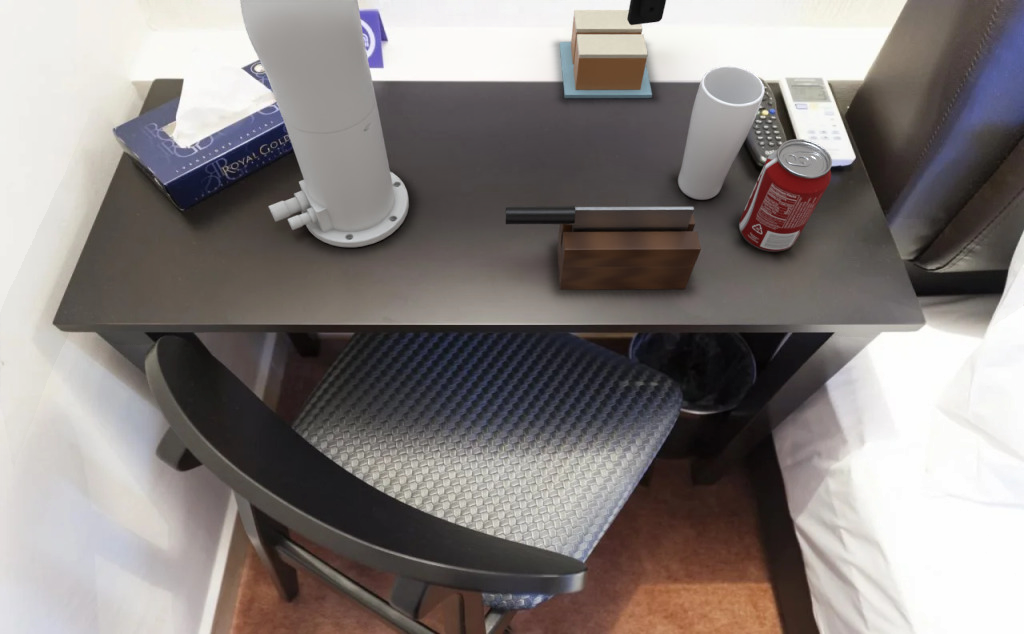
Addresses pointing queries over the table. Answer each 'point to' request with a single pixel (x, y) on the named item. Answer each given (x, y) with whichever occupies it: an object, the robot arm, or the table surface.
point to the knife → (604, 218)
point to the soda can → (785, 195)
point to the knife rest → (626, 259)
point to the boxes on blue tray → (605, 57)
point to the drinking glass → (718, 128)
